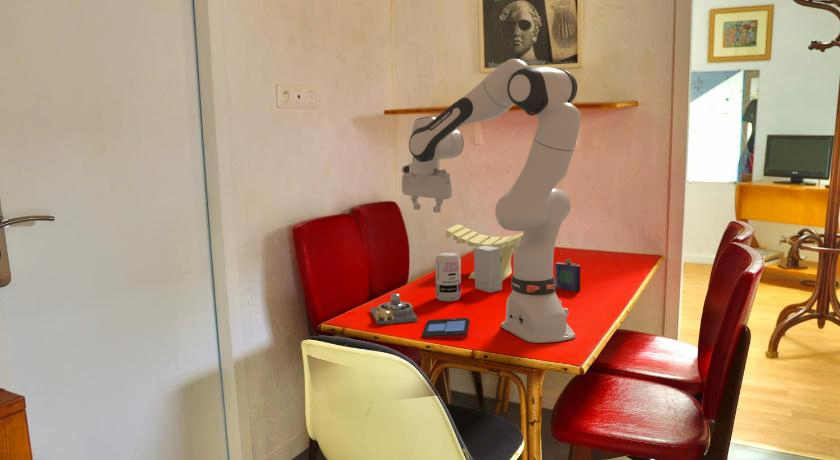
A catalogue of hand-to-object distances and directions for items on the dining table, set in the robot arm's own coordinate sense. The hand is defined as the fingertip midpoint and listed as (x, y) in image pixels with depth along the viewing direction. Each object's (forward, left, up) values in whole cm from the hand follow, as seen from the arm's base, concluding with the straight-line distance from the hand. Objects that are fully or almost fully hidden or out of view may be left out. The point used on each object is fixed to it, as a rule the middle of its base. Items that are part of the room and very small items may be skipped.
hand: (426, 210), depth 212 cm
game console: (-34, +3, -30) cm, 45 cm away
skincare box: (+4, -22, -29) cm, 37 cm away
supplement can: (-3, -6, -29) cm, 30 cm away
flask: (-4, -48, -29) cm, 56 cm away
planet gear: (-15, +14, -28) cm, 35 cm away
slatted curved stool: (+24, -30, -29) cm, 48 cm away
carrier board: (-17, +15, -29) cm, 37 cm away
